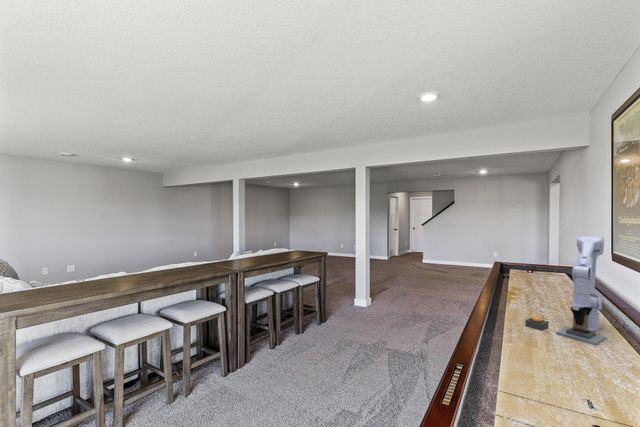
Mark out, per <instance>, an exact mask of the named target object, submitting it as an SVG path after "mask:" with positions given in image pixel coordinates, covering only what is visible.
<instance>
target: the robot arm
mask: <svg viewBox="0 0 640 427" xmlns="http://www.w3.org/2000/svg"><path fill="white" fill-rule="evenodd" d="M576 246H577V251H578V253H579V254H580V255H578V256H577V258H576V262H575V265H574V266H572V270H571V271H572V272H571V274H572V282H573V300H570V301H569V303H570V304H572V306H571V307H570V311H571V312H572V314H573V315H574V318H575V322H576V324H577V325H581V326H582V325H583V322H584V317H585V315H588V329H587V330H589V331H594V332H596V331H598V330H600V329H602V328H603V326H601V325H600V313H599V311H600V310H602V307H603V299H602V298H603V295H602V293H600V291H598V290H596V289H595V287H596V273H597V260H598V257H599V256H601V255H603V253H604V247H605V239H604V237H603V236H592V235H591V236H590V235H589V236H588V235H578V236H577V237H576Z"/></svg>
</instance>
